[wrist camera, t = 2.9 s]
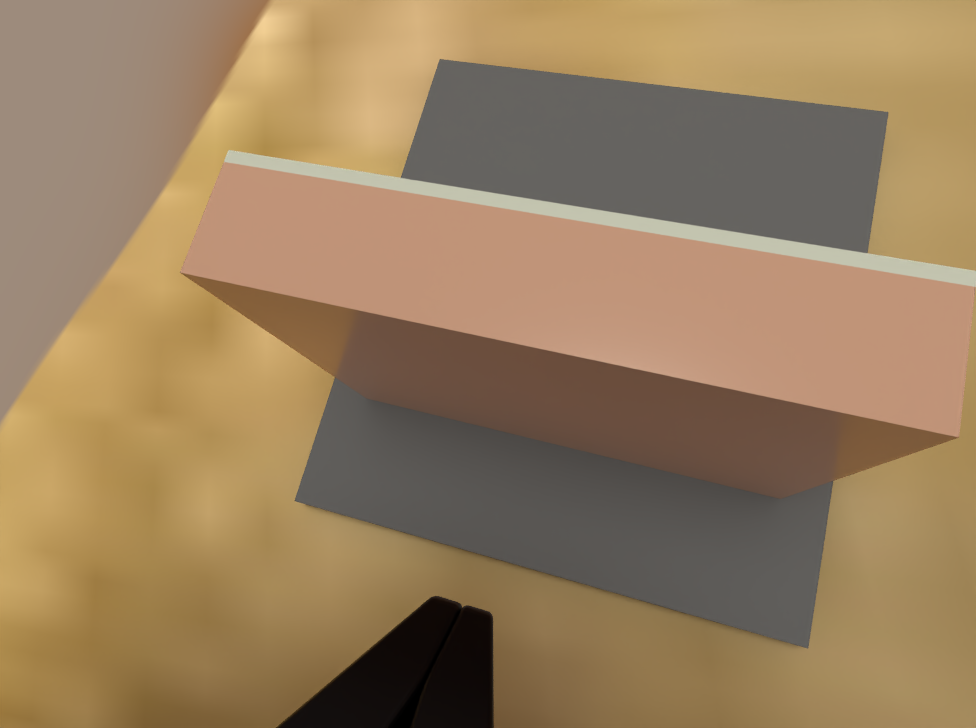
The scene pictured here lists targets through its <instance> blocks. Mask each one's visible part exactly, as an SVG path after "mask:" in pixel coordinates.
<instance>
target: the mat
mask: <svg viewBox="0 0 976 728" xmlns="http://www.w3.org/2000/svg"><path fill="white" fill-rule="evenodd" d="M887 119H888V112H883V111H874V110H866V109H857V108H849V107H840V106H832V105H823V104H815V103H806V102H798V101H789V100H781V99H773V98H764V97H756V96H747V95H739V94H730V93H722V92H713V91H705V90H696V89H688V88H679V87H671V86H662V85H654V84H645V83H637V82H628V81H620V80H612V79H603V78H595V77H586V76H578V75H569V74H561V73H552V72H544V71H535V70H527V69H518V68H510V67H501V66H493V65H484V64H476V63H467V62H459V61H451V60H442V59H440V60H439V63H438V66H437V69H436V72H435V75H434V78H433V81H432V85H431V88H430V91H429V94H428V97H427V100H426V103H425V106H424V109H423V112H422V115H421V118H420V121H419V124H418V127H417V130H416V133H415V136H414V139H413V142H412V145H411V148H410V151H409V154H408V158H407V161H406V164H405V167H404V170H403V173H402V176H401V178H404V179H410V180H417V181H423V182H429V183H435V184H441V185H447V186H454V187H460V188H466V189H472V190H478V191H485V192H491V193H497V194H503V195H509V196H515V197H522V198H528V199H534V200H540V201H546V202H553V203H559V204H565V205H571V206H577V207H584V208H590V209H596V210H602V211H608V212H614V213H621V214H627V215H633V216H639V217H645V218H652V219H658V220H664V221H670V222H676V223H682V224H689V225H695V226H701V227H707V228H713V229H720V230H726V231H732V232H738V233H744V234H750V235H757V236H763V237H769V238H775V239H781V240H788V241H794V242H800V243H806V244H812V245H819V246H825V247H831V248H837V249H843V250H849V251H856V252H862V253H867V252H868V245H869V239H870V232H871V225H872V219H873V212H874V205H875V199H876V192H877V185H878V179H879V172H880V165H881V159H882V152H883V145H884V139H885V132H886V125H887ZM832 486H833V481H831V482H828V483H825V484H823V485H820V486H817V487H814V488H811V489H808V490H805V491H802V492H799V493H796V494H794V495H791V496H788V497H785V498H782V499H778V498H774V497H770V496H766V495H762V494H758V493H754V492H750V491H745V490H741V489H737V488H733V487H729V486H725V485H721V484H717V483H712V482H708V481H704V480H700V479H696V478H692V477H688V476H684V475H680V474H675V473H671V472H667V471H663V470H659V469H655V468H651V467H647V466H642V465H638V464H634V463H630V462H626V461H622V460H618V459H614V458H610V457H605V456H601V455H597V454H593V453H589V452H585V451H581V450H577V449H572V448H568V447H564V446H560V445H556V444H552V443H548V442H544V441H539V440H535V439H531V438H527V437H523V436H519V435H515V434H511V433H507V432H502V431H498V430H494V429H490V428H486V427H482V426H478V425H474V424H469V423H465V422H461V421H457V420H453V419H449V418H445V417H441V416H437V415H432V414H428V413H424V412H420V411H416V410H412V409H408V408H404V407H399V406H395V405H391V404H387V403H383V402H379V401H375V400H371V399H367V398H365V397H364V396H362V395H361V394H359V393H358V392H356V391H355V390H353V389H352V388H350V387H349V386H347V385H346V384H344V383H343V382H341V381H340V380H338V379H337V378H335V380H334V383H333V386H332V389H331V392H330V395H329V398H328V401H327V404H326V407H325V410H324V413H323V416H322V419H321V422H320V425H319V428H318V431H317V434H316V437H315V440H314V443H313V446H312V449H311V453H310V456H309V459H308V462H307V465H306V468H305V471H304V474H303V477H302V480H301V483H300V486H299V489H298V492H297V495H296V498H295V501H296V502H300V503H303V504H307V505H310V506H314V507H317V508H321V509H324V510H328V511H331V512H335V513H338V514H342V515H345V516H349V517H352V518H355V519H359V520H362V521H366V522H369V523H373V524H376V525H380V526H383V527H387V528H390V529H394V530H397V531H401V532H404V533H408V534H411V535H415V536H418V537H422V538H425V539H429V540H432V541H436V542H439V543H443V544H446V545H450V546H453V547H457V548H460V549H464V550H467V551H470V552H474V553H477V554H481V555H484V556H488V557H491V558H495V559H498V560H502V561H505V562H509V563H512V564H516V565H519V566H523V567H526V568H530V569H533V570H537V571H540V572H544V573H547V574H551V575H554V576H558V577H561V578H565V579H568V580H572V581H575V582H579V583H582V584H586V585H589V586H592V587H596V588H599V589H603V590H606V591H610V592H613V593H617V594H620V595H624V596H627V597H631V598H634V599H638V600H641V601H645V602H648V603H652V604H655V605H659V606H662V607H666V608H669V609H673V610H676V611H680V612H683V613H687V614H690V615H694V616H697V617H701V618H704V619H707V620H711V621H714V622H718V623H721V624H725V625H728V626H732V627H735V628H739V629H742V630H746V631H749V632H753V633H756V634H760V635H763V636H767V637H770V638H774V639H777V640H781V641H784V642H788V643H791V644H795V645H798V646H802V647H805V648H808V646H809V639H810V632H811V626H812V619H813V612H814V606H815V599H816V592H817V586H818V579H819V572H820V566H821V559H822V552H823V546H824V539H825V532H826V526H827V519H828V512H829V506H830V499H831V492H832Z"/></svg>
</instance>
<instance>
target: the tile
mask: <svg viewBox="0 0 976 728" xmlns="http://www.w3.org/2000/svg"><path fill="white" fill-rule="evenodd" d="M180 273H181V274H183V275H184V276H186V277H187V278H189V279H190V280H192V281H193V282H195V283H196V284H198V285H199V286H201V287H202V288H204V289H205V290H207V291H208V292H210V293H211V294H213V295H214V296H216V297H217V298H219V299H220V300H221V301H223V302H224V303H226V304H227V305H229V306H230V307H232V308H233V309H235V310H236V311H238V312H239V313H241V314H242V315H244V316H245V317H247V318H248V319H250V320H251V321H253V322H254V323H256V324H257V325H258V326H260V327H261V328H263V329H264V330H266V331H267V332H269V333H270V334H272V335H273V336H275V337H276V338H278V339H279V340H281V341H282V342H284V343H285V344H287V345H288V346H290V347H291V348H293V349H294V350H296V351H297V352H298V353H300V354H301V355H303V356H304V357H306V358H307V359H309V360H310V361H312V362H313V363H315V364H316V365H318V366H319V367H321V368H322V369H324V370H325V371H327V372H328V373H330V374H331V375H333V376H334V377H335V378H337V379H338V380H340V381H341V382H343V383H344V384H346V385H347V386H349V387H350V388H352V389H353V390H355V391H356V392H358V393H359V394H361V395H362V396H364V397H365V398H367V399H371V400H375V401H379V402H383V403H387V404H391V405H395V406H399V407H404V408H408V409H412V410H416V411H420V412H424V413H428V414H432V415H437V416H441V417H445V418H449V419H453V420H457V421H461V422H465V423H469V424H474V425H478V426H482V427H486V428H490V429H494V430H498V431H502V432H507V433H511V434H515V435H519V436H523V437H527V438H531V439H535V440H539V441H544V442H548V443H552V444H556V445H560V446H564V447H568V448H572V449H577V450H581V451H585V452H589V453H593V454H597V455H601V456H605V457H610V458H614V459H618V460H622V461H626V462H630V463H634V464H638V465H642V466H647V467H651V468H655V469H659V470H663V471H667V472H671V473H675V474H680V475H684V476H688V477H692V478H696V479H700V480H704V481H708V482H712V483H717V484H721V485H725V486H729V487H733V488H737V489H741V490H745V491H750V492H754V493H758V494H762V495H766V496H770V497H774V498H778V499H782V498H785V497H788V496H791V495H794V494H796V493H799V492H802V491H805V490H808V489H811V488H814V487H817V486H820V485H823V484H825V483H828V482H831V481H834V480H837V479H840V478H843V477H846V476H849V475H851V474H854V473H857V472H860V471H863V470H866V469H869V468H872V467H875V466H878V465H880V464H883V463H886V462H889V461H892V460H895V459H898V458H901V457H904V456H907V455H909V454H912V453H915V452H918V451H921V450H924V449H927V448H930V447H933V446H936V445H938V444H941V443H944V442H947V441H950V440H953V439H956V438H959V432H960V423H961V414H962V405H963V396H964V386H965V377H966V368H967V359H968V350H969V341H970V331H971V322H972V313H973V304H974V295H975V286H976V271H973V270H967V269H961V268H955V267H948V266H942V265H936V264H930V263H924V262H917V261H911V260H905V259H899V258H893V257H887V256H880V255H874V254H868V253H862V252H856V251H849V250H843V249H837V248H831V247H825V246H819V245H812V244H806V243H800V242H794V241H788V240H781V239H775V238H769V237H763V236H757V235H750V234H744V233H738V232H732V231H726V230H720V229H713V228H707V227H701V226H695V225H689V224H682V223H676V222H670V221H664V220H658V219H652V218H645V217H639V216H633V215H627V214H621V213H614V212H608V211H602V210H596V209H590V208H584V207H577V206H571V205H565V204H559V203H553V202H546V201H540V200H534V199H528V198H522V197H515V196H509V195H503V194H497V193H491V192H485V191H478V190H472V189H466V188H460V187H454V186H447V185H441V184H435V183H429V182H423V181H417V180H410V179H404V178H398V177H392V176H386V175H379V174H373V173H367V172H361V171H355V170H348V169H342V168H336V167H330V166H324V165H318V164H311V163H305V162H299V161H293V160H287V159H280V158H274V157H268V156H262V155H256V154H250V153H243V152H237V151H231V150H229V151H228V153H227V156H226V158H225V161H224V163H223V166H222V168H221V171H220V173H219V176H218V178H217V181H216V183H215V186H214V188H213V191H212V193H211V196H210V198H209V201H208V203H207V206H206V208H205V211H204V213H203V216H202V219H201V221H200V224H199V226H198V229H197V231H196V234H195V236H194V239H193V241H192V244H191V246H190V249H189V251H188V254H187V256H186V259H185V261H184V264H183V266H182V269H181V271H180Z"/></svg>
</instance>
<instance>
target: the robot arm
mask: <svg viewBox="0 0 976 728" xmlns="http://www.w3.org/2000/svg"><path fill="white" fill-rule="evenodd" d="M276 728H494V695H493V616H492V614H491V613H490V612H488V611H485V610H482V609H478V608H475V607H472V606H464V607H463V608H462V605H461V604H460V603H458V602H455V601H452V600H449V599H446V598H442V597H439V596H434V597H431V598H430V599H428V600H427V601H426V602H425V603H423V604H422V605H421V606H420V607H419V608H418V609H416V610H415V611H414V612H413V613H412V614H410V615H409V616H408V617H407V618H406V619H404V620H403V621H402V622H401V623H400V624H399V625H397V626H396V627H395V628H394V629H393V630H391V631H390V632H389V633H388V634H387V635H385V636H384V637H383V638H382V639H381V640H380V641H378V642H377V643H376V644H375V645H374V646H372V647H371V648H370V649H369V650H368V651H366V652H365V653H364V654H363V655H362V656H361V657H359V658H358V659H357V660H356V661H355V662H353V663H352V664H351V665H350V666H349V667H347V668H346V669H345V670H344V671H343V672H342V673H340V674H339V675H338V676H337V677H336V678H334V679H333V680H332V681H331V682H330V683H328V684H327V685H326V686H325V687H324V688H323V689H321V690H320V691H319V692H318V693H317V694H315V695H314V696H313V697H312V698H311V699H309V700H308V701H307V702H306V703H305V704H304V705H302V706H301V707H300V708H299V709H298V710H296V711H295V712H294V713H293V714H292V715H290V716H289V717H288V718H287V719H286V720H285V721H283V722H282V723H281V724H280V725H279V726H277V727H276Z"/></svg>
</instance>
